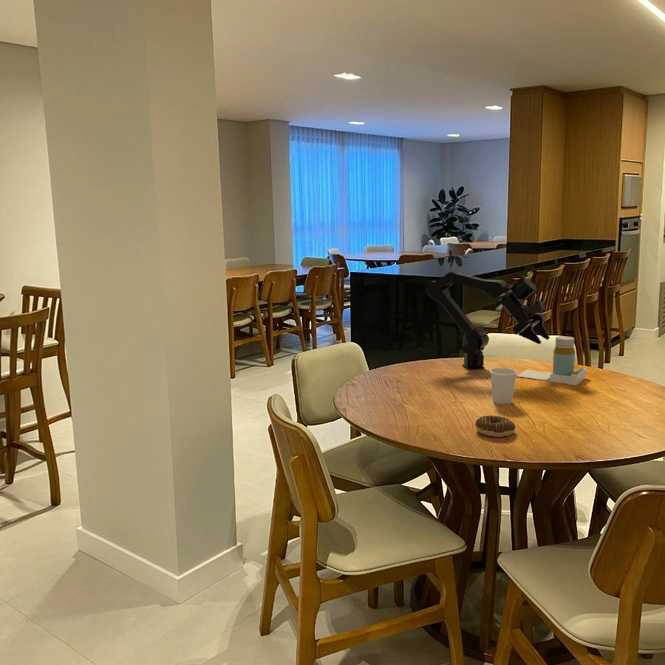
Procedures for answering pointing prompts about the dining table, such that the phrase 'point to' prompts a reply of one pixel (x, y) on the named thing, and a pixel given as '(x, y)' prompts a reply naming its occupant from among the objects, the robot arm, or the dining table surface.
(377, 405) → the dining table surface
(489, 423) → the donut
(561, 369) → the bottle
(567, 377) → the dock
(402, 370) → the dining table surface
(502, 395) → the dixie cup
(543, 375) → the mat
